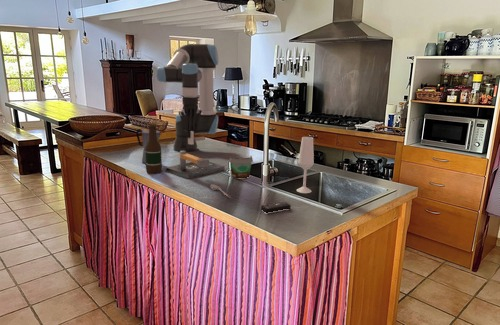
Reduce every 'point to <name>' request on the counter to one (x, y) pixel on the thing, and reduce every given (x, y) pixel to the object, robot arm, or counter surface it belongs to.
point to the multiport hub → (275, 207)
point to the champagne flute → (306, 160)
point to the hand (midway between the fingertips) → (190, 144)
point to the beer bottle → (153, 152)
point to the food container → (240, 167)
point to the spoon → (217, 189)
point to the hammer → (191, 160)
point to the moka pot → (145, 140)
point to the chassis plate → (194, 170)
